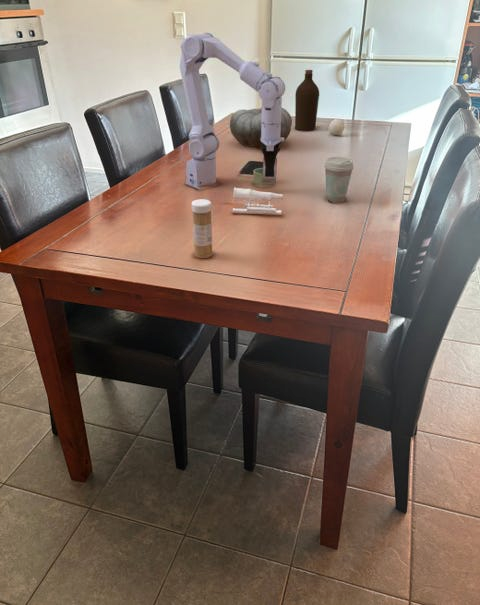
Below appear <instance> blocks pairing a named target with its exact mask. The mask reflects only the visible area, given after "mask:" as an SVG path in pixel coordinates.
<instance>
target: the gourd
mask: <svg viewBox="0 0 480 605" xmlns="http://www.w3.org/2000/svg"><path fill="white" fill-rule="evenodd" d="M261 123H262V107H260V108H251V109H239V110H236V111H234V113H233V114H232V115H231V117H230V122H229V129H230V133H231V135H232V136H233V138H234V139H235V140H236V141H237V142H238V143H239V144H240V145H242V146H246V147H261V144H262V142H261V141H260V138H261ZM292 126H293V119H292V116H291V114H290V113H289V111H288V110H287V109H285V108H284V107H282V109H281V134H280V137H282V138H284V141H285V140H286V139H288V137H289V135H290V134H291V131H292ZM284 141H281V142H279V143H280V144H281V143H283V142H284Z"/></svg>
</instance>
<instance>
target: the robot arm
mask: <svg viewBox="0 0 480 605" xmlns="http://www.w3.org/2000/svg"><path fill="white" fill-rule="evenodd" d="M180 50H181V54H180V61H179V71H180V77H181V80H182V85H183V91H184V96H185V100H186V104H187V109H188V114H189V119H190V124H191V128H190V129H191V130H190V131H189V134H188V141H189V143H188V151H189V153H190V155H191V156H192V158H191V159H189V160H187V162H185V175H186V176H185V177H186V182H185V185H187V186H189V187H191V188H195V190H200V189H201V187H203V186H209V185H213V184H216V183H217V161H216V160H217V156H216V155H217V151H218V149H219V147H220V140H219V138H218V136H217V134H216V132H215V128H214V127H213V126H212V125H211V124H210V122H209V117H208V110H207V106H206V101H205V100H206V99H205V95H204V89H203V86H202V80H201V74H200V69H201V67H202V66H203V64H204V63H205V62H206V61H207V60H208V59H211V58H212V59H217V60H219V61H221V62H222V63H223V64H225V65H226V66H228V67H229V68H231V69H233V70H234V71H236V72H237V73H238V74H239V78H240V80H241V81H242V82H244V83H245V84H246V85H248V86H249V87H250V88H251V89H253V90H254V91H256V92H257V93H258V96H259V98H260V99H261V108H262V123H261V138H260V141H261V142H262V144H261V146H260V150H261V152H262V155H263V157H264V159H265V166H266V170H273V169H274V165H275V160H276V157H278V154H279V152H280V150H281V148H280V146H281V143H282V142H281V141H283V142H285V140H284V138H282V137H280V134H281V109H282V108H283V106H282V105H283V104H282V103H283V96H284V95H285V91H286V85H285V82H284V81H283V80H282V78H281V77H280V76H277V75H276V76H273V73H272V72H267V71H266V69H264V68H262V67H261V66H260V63H259V62H258V61H252V60H249V61H245V60H244V59H243V58H241V57H240V56H239V55H238V54H237V53H236V52H234V51H233V50H232V49H231V48H229V47H228V46H227V45H226V44H224V43H223V42H222V41H221V40H220V38H218V37H217V36H215V35H213V33H210V32H203V33H197V34H193V33H192V34H188V35H187V36H186V37H185V38H184V39H183V41H182V42H181V44H180ZM279 142H281V143H279Z"/></svg>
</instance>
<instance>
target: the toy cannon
mask: <svg viewBox="0 0 480 605" xmlns="http://www.w3.org/2000/svg"><path fill="white" fill-rule="evenodd" d="M232 195H233V196H232V198H233V199H232V200H233V202H234V203H236V202H244V208H234V207H233V208H232V214H243V215H245V214H246V215H266V216H280V217H281V216H282V211H283V210H282V209H280V210H279V209H278V210H277V207H274V204H271V200H283V199H284V193H282V194H281V193H274V192H272V191H259V190H255V189H252V188H251V187H250V188H240V187H239V188H238V187H236V186H235V187H234V188H233V194H232ZM259 200H263V201H264V200H266V201H268V204H264V203H259ZM252 201H257V203H251V202H252ZM247 202H248V203H247Z"/></svg>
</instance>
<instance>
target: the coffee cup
mask: <svg viewBox="0 0 480 605" xmlns="http://www.w3.org/2000/svg"><path fill="white" fill-rule="evenodd" d="M323 166H324V169H325V171H324V172H325V173H324V175H325V198H326V199H327V201H328V202H329V203H334V204H340V203H344V202H346V198H347V194H348V189H349V186H350V180H351V178H352V173H353V170H354V168H355V167H354V163H353V160H352V159H351V158H348V157H341V156H334V157H329V158H327V159H326V161H325V163H324V165H323Z"/></svg>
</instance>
